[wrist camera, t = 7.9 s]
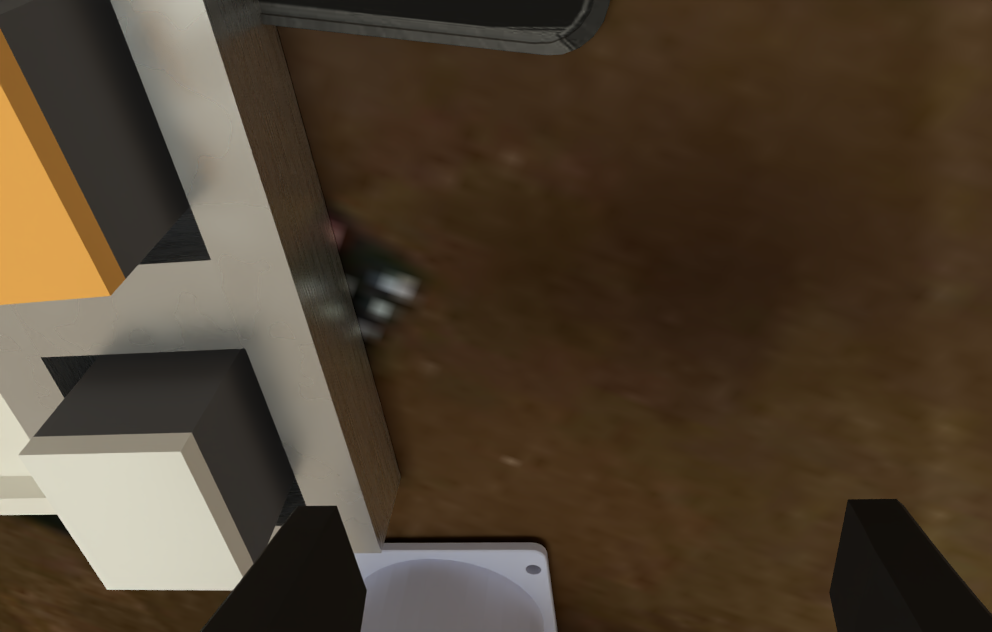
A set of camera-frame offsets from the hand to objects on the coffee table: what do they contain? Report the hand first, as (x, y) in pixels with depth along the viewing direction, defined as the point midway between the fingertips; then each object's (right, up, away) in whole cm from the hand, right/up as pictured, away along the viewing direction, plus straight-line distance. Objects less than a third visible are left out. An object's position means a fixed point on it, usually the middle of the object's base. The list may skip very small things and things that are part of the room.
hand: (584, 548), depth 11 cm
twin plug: (-9, +1, +12) cm, 15 cm away
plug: (-10, +9, +7) cm, 15 cm away
